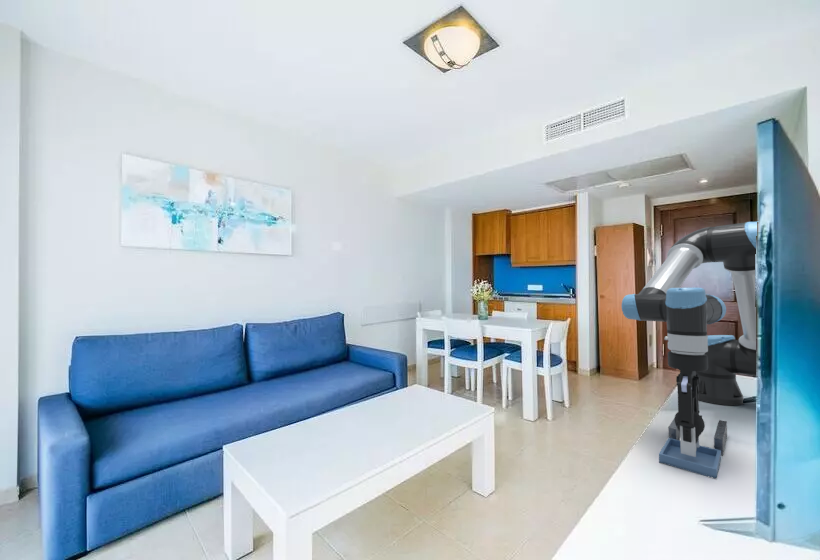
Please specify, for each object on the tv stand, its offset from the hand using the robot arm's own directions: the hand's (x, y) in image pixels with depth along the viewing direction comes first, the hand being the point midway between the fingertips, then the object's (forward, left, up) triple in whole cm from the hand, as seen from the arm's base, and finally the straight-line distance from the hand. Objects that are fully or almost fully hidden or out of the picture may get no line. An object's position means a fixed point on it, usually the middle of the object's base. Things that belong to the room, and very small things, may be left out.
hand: (690, 449), depth 82 cm
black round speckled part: (0, 0, -1) cm, 1 cm away
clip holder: (-5, -15, -3) cm, 16 cm away
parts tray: (0, 0, -3) cm, 3 cm away
